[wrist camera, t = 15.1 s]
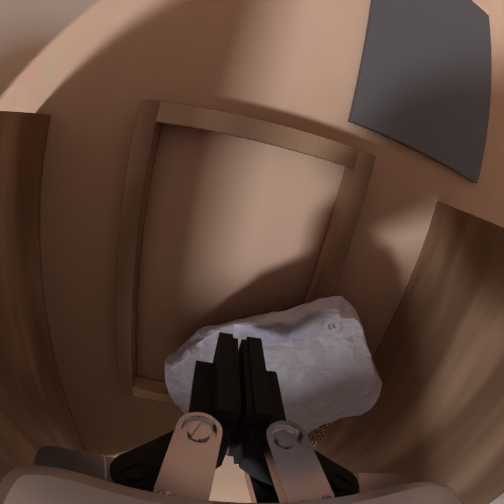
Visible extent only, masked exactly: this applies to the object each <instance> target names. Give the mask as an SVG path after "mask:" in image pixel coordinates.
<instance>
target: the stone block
mask: <svg viewBox="0 0 504 504" xmlns="http://www.w3.org/2000/svg"><path fill="white" fill-rule="evenodd" d="M219 332H223V333H229V334H233V338H238V350H239V346H240V343H241V340H242V339H244V340H246V338H247V337H255V338H261V340H262V346H263V352H264V358H265V365H266V370H267V371H275V372H276V373H277V377H278V382H279V387H280V392H281V397H282V402H283V407H284V412H285V417H286V421H290V422H294V423H296V424H298V425H300V426H301V427H302V428H303V429H304V430H305V432H306V433H307V434H308V433H310V432H311V431H313V430H314V429H316V428H318V427H319V426H321V425H324V424H326V423H332V422H334V421H336V420H338V419H340V418H343V417H349V416H358V415H362V414H364V413H365V412H367V411H369V410H370V409H371V408H372V407H373V405H374V404H375V403H376V401H377V399H378V397H379V395H380V392H381V388H382V381H381V379H380V377H379V375H378V372H377V369H376V367H375V364H374V362H373V360H372V358H371V353H370V351H369V348H368V346H367V342H366V338H365V334H364V330H363V327H362V324H361V322H360V319H359V316H358V314H357V312H356V311H355V309H354V308H353V306H352V305H351V304H350V303H349V302H348V301H347V300H345V299H344V297H343V296H331V297H327V298H320V299H316V300H315V301H313V302H310V303H307V304H302V305H298V306H296V307H294V308H291V309H288V310H285V311H280V312H271V313H265V314H263V315H255V316H252V317H248V318H243V319H238V320H233V321H230V322H227V323H223V324H220V325H210V326H205V327H202V328H200V329H198V330H197V331H196V332H195V333H194V334H193V335H192V336H191V337H190V338H189V339H188V340H187V341H186V342H184V343H183V344H182V345H181V346H180V347H179V348H178V349H177V350H175V351H173V352H172V353H171V354H169V356H168V357H167V358H166V359H165V363H164V367H165V370H164V372H165V383H166V387H167V389H168V392H169V395H170V396H171V397H172V399H173V401H174V403H175V404H177V406H178V407H179V408H180V409H181V411H182V412H183V414H184V415H185V414H188V412H189V404H190V396H191V389H192V382H193V375H194V369H195V363H196V360H198V361H203V362H209V363H213V358H214V354H215V349H216V345H217V340H218V336H219ZM225 455H228V456H229V446H228V449H227V452H226V454H225Z"/></svg>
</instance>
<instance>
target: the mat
mask: <svg viewBox="0 0 504 504" xmlns="http://www.w3.org/2000/svg"><path fill="white" fill-rule="evenodd" d="M490 94H491V38H490V25H489V16H488V15H487V14H486V13H485V12H484V11H483V10H482V9H481V8H480V7H478V6H477V5H476V4H475V3H474V2H473V1H471V0H371V5H370V12H369V18H368V24H367V30H366V36H365V42H364V48H363V53H362V58H361V64H360V69H359V74H358V79H357V84H356V88H355V93H354V98H353V102H352V107H351V111H350V115H349V120H348V121H349V122H351V123H354V124H357V125H359V126H362V127H364V128H367V129H369V130H372V131H374V132H376V133H379V134H381V135H383V136H386V137H388V138H390V139H392V140H395V141H397V142H399V143H401V144H403V145H405V146H408V147H410V148H412V149H414V150H416V151H418V152H420V153H422V154H424V155H426V156H428V157H430V158H432V159H433V160H435V161H437V162H439V163H441V164H443V165H445V166H446V167H448V168H450V169H452V170H453V171H455V172H457V173H459V174H460V175H462V176H464V177H465V178H467V179H469V180H470V181H472V182H474V183H477V182H478V178H479V173H480V169H481V164H482V158H483V153H484V147H485V141H486V134H487V126H488V118H489V107H490Z"/></svg>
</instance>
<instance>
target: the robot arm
mask: <svg viewBox="0 0 504 504" xmlns="http://www.w3.org/2000/svg"><path fill="white" fill-rule="evenodd" d="M228 446H229V456H234V464H239V467H240V468H241V469H243V470H244V471H245V479H246V483H247V486H248V490H249V494H250V498H251V501H252V503H233V502H218V501H209V497H210V492H211V487H212V482H213V478H214V473H215V469H216V468H218V467H219V466H221V465H222V462H223V459H224V457H225V454H226V452H227V449H228ZM0 504H462V502H461V501H460V499H459V497H458V496H457V495H456V493H455V492H454V491H453V490H452V489H451V488H450V487H448V486H446V485H444V484H440V483H434V482H413V483H411V481H410V479H409V478H408V477H407V476H405V475H403V474H399V473H358V474H357V475H354V474H353V473H352V472H350V471H349V470H347V469H345V468H344V467H342V466H340V465H338V464H337V463H335V462H334V461H332V460H330V459H329V458H327V457H325V456H324V455H322V454H321V453H319V452H317V451H316V450H314V449H313V447H312V444H311V442H310V440H309V438H308V435H307V433H306V432H305V430H304V429H303V428H302V427H301V426H300V425H298V424H296V423H294V422H290V421H286V417H285V412H284V407H283V402H282V397H281V392H280V387H279V382H278V377H277V373H276V372H275V371H267V370H266V365H265V358H264V352H263V346H262V340H261V338H255V337H247V338H246V340H244V339H242V340H241V343H240V346H239V350H238V338H233V334H229V333H223V332H219V336H218V340H217V345H216V349H215V354H214V358H213V363H209V362H203V361H198V360H196V363H195V369H194V375H193V382H192V389H191V396H190V404H189V412H188V414H185V415H183V416H182V417H181V418H180V419H179V421H178V422H177V425H176V427H175V430H173V431H171V432H169V433H167V434H165V435H163V436H161V437H159V438H157V439H155V440H153V441H150V442H148V443H146V444H144V445H142V446H140V447H137V448H135V449H133V450H131V451H128V452H126V453H124V454H121V455H119V456H118V457H116V458H115V457H105V454H98V453H91V452H84V451H78V450H72V449H66V448H61V447H56V446H44V447H41V448H40V449H39V450H38V451H37V453H36V456H35V461H34V465H28V466H19V467H16V468H14V469H12V470H11V471H9V472H8V473H7V474H6V476H5V477H4V478H3V479H2V481H1V482H0ZM490 504H504V493H503V494H502V495H500V496H499V497H498V498H496V499H495V500H494V501H492V502H491V503H490Z"/></svg>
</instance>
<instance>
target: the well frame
mask: <svg viewBox="0 0 504 504" xmlns="http://www.w3.org/2000/svg"><path fill="white" fill-rule="evenodd" d="M49 120H50V115H46V114H36V113H24V112H8V111H0V482H1V481H2V479H3V478H4V477H5V476H6V474H7V473H8V472H9V471H11V470H12V469H14V468H16V467H19V466H28V465H34V461H35V456H36V453H37V451H38V450H39V449H40V448H41V447H44V446H56V447H61V448H66V449H72V450H78V451H84V452H85V450H84V448H83V445H82V443H81V440H80V438H79V435H78V433H77V430H76V428H75V425H74V422H73V419H72V417H71V414H70V411H69V408H68V405H67V402H66V399H65V395H64V392H63V389H62V385H61V382H60V378H59V374H58V370H57V366H56V362H55V358H54V354H53V349H52V344H51V339H50V334H49V329H48V323H47V317H46V310H45V303H44V295H43V286H42V275H41V261H40V231H39V221H40V192H41V178H42V167H43V158H44V150H45V143H46V137H47V131H48V125H49ZM161 124H169V125H176V126H182V127H188V128H194V129H200V130H205V131H211V132H216V133H221V134H226V135H231V136H235V137H240V138H245V139H249V140H253V141H258V142H262V143H266V144H270V145H274V146H278V147H282V148H285V149H289V150H293V151H297V152H300V153H304V154H307V155H311V156H314V157H317V158H321V159H324V160H327V161H330V162H334V163H337V164H340V165H343V166H346V167H345V171H344V175H343V179H342V182H341V186H340V189H339V193H338V197H337V200H336V204H335V207H334V211H333V214H332V217H331V221H330V224H329V227H328V231H327V234H326V237H325V240H324V244H323V247H322V250H321V253H320V256H319V259H318V262H317V265H316V268H315V271H314V274H313V277H312V280H311V283H310V286H309V289H308V292H307V295H306V298H305V301H304V304H307V303H310V302H313V301H315V300H316V299H320V298H327V297H331V296H332V293H333V291H334V288H335V285H336V282H337V280H338V277H339V274H340V271H341V269H342V266H343V263H344V260H345V257H346V254H347V251H348V248H349V245H350V242H351V239H352V236H353V233H354V230H355V227H356V224H357V220H358V217H359V214H360V210H361V207H362V204H363V200H364V197H365V193H366V190H367V186H368V183H369V179H370V175H371V171H372V168H373V164H374V160H375V156H374V155H372V154H369V153H366V152H364V151H361V150H358V149H356V148H353V147H350V146H347V145H344V144H342V143H339V142H336V141H333V140H330V139H327V138H324V137H320V136H317V135H314V134H311V133H307V132H304V131H301V130H297V129H294V128H290V127H287V126H283V125H279V124H275V123H271V122H268V121H264V120H259V119H255V118H251V117H247V116H242V115H237V114H233V113H228V112H223V111H218V110H212V109H207V108H201V107H195V106H189V105H182V104H175V103H168V102H160V101H151V100H142V99H141V103H140V107H139V112H138V116H137V120H136V125H135V130H134V134H133V139H132V144H131V150H130V155H129V161H128V167H127V173H126V179H125V186H124V194H123V201H122V210H121V219H120V230H119V242H118V256H117V277H116V339H117V359H118V373H119V385H120V393H124V394H128V395H132V396H136V397H141V398H145V399H150V400H154V401H159V402H164V403H169V404H175V403H174V401H173V399H172V397H171V396H170V395H169V392H168V389H167V387H166V383H165V382H161V381H156V380H151V379H147V378H143V377H138V376H136V313H137V292H138V277H139V265H140V254H141V244H142V235H143V226H144V219H145V211H146V204H147V197H148V191H149V185H150V179H151V173H152V167H153V162H154V157H155V152H156V147H157V142H158V137H159V132H160V128H161ZM372 360H373V362H374V364H375V367H376V369H377V372H378V375H379V377H380V379H381V381H382V388H381V392H380V395H379V397H378V399H377V401H376V403H375V404H374V405H373V407H372V408H371V409H370V410H369V411H367V412H365V413H364V414H362V415H358V416H349V417H343V418H340V419H338V420H336V421H334V422H333V423H332V424H331V426H330V427H329V428H328V430H327V431H326V433H325V434H324V435H323V437H322V438H321V439H320V441H319V442H318V443H317V445H316V446H315V447H314V450H316V451H317V452H319V453H321V454H322V455H324V456H325V457H327V458H329V459H330V460H332V461H334V462H335V463H337V464H338V465H340V466H342V467H344V468H345V469H347V470H349V471H350V472H352V473H353V474H354V475H357V474H358V473H399V474H403V475H405V476H407V477H408V478H409V479H410V481H411V483H413V482H434V483H440V484H444V485H446V486H448V487H450V488H451V489H452V490H453V491H454V492H455V493H456V495H457V496H458V497H459V499H460V501H461V502H462V504H490V503H491V502H492V501H494V500H495V499H496V498H498V497H499V496H500V495H502V494H503V493H504V228H502V227H500V226H498V225H495V224H493V223H491V222H488V221H486V220H483V219H481V218H479V217H476V216H474V215H471V214H469V213H466V212H464V211H461V210H458V209H456V208H453V207H450V206H448V205H445V204H442V203H439V202H437V205H436V208H435V212H434V215H433V218H432V221H431V224H430V228H429V231H428V234H427V237H426V239H425V242H424V245H423V248H422V251H421V253H420V256H419V259H418V261H417V264H416V267H415V269H414V272H413V274H412V277H411V279H410V282H409V284H408V286H407V289H406V291H405V293H404V296H403V298H402V300H401V302H400V305H399V307H398V309H397V311H396V313H395V315H394V318H393V320H392V322H391V324H390V326H389V328H388V330H387V332H386V334H385V336H384V338H383V340H382V342H381V343H380V345H379V347H378V349H377V351H376V353H375V355H374V357H373V358H372ZM175 405H177V404H175Z"/></svg>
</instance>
